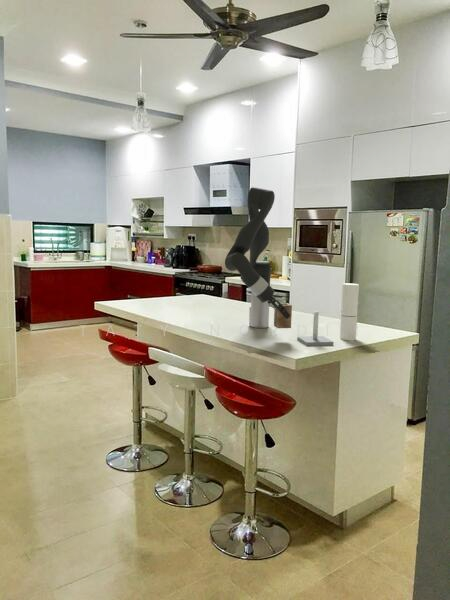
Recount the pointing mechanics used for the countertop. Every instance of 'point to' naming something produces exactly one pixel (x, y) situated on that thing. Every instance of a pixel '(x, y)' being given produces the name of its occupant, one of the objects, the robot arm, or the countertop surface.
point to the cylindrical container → (349, 311)
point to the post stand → (315, 336)
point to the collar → (280, 319)
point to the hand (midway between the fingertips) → (286, 315)
